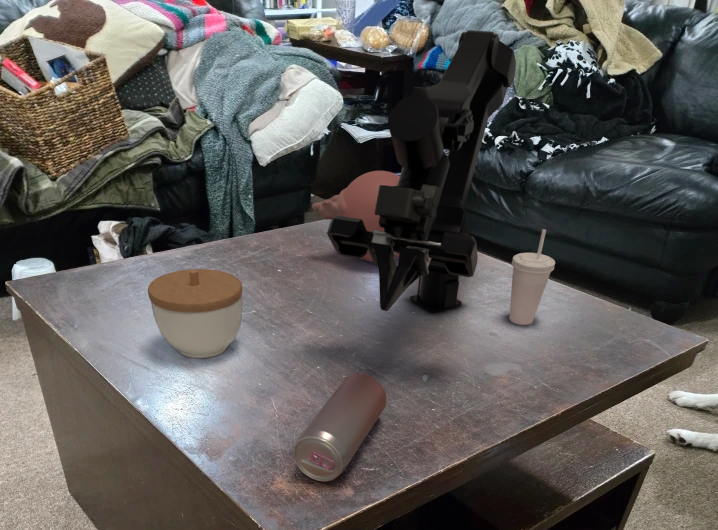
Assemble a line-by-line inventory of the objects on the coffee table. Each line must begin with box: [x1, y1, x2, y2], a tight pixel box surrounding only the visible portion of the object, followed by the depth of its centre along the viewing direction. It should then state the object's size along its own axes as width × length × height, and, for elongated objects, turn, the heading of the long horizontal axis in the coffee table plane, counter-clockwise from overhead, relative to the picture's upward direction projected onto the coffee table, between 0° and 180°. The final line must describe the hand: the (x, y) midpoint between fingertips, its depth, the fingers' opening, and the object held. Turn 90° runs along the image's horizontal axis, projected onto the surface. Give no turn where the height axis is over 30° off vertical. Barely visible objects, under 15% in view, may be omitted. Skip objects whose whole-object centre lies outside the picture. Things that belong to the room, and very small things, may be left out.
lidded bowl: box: [147, 268, 243, 359], centre depth 89 cm, size 13×13×11 cm
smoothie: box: [508, 228, 556, 326], centre depth 98 cm, size 6×6×14 cm
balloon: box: [311, 170, 400, 263], centre depth 117 cm, size 15×20×15 cm
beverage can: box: [293, 373, 387, 483], centre depth 72 cm, size 6×6×15 cm
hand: (383, 309), depth 80 cm, fingers closed
